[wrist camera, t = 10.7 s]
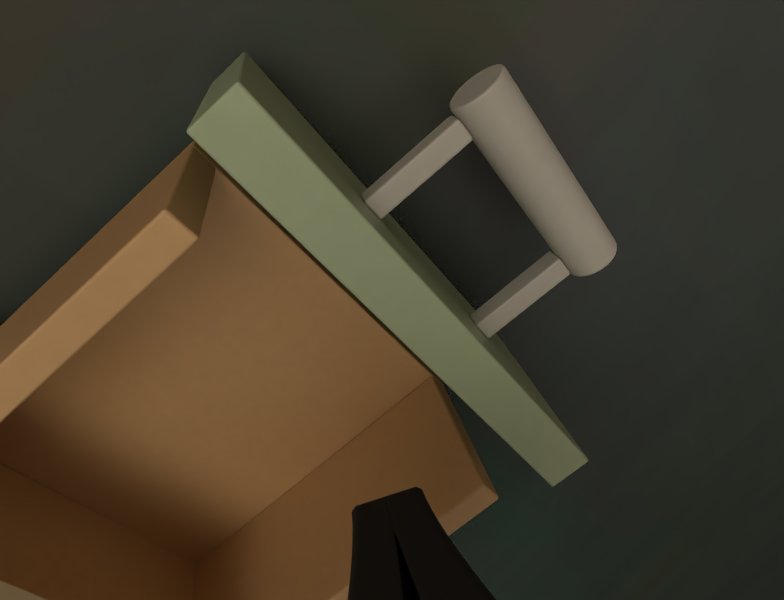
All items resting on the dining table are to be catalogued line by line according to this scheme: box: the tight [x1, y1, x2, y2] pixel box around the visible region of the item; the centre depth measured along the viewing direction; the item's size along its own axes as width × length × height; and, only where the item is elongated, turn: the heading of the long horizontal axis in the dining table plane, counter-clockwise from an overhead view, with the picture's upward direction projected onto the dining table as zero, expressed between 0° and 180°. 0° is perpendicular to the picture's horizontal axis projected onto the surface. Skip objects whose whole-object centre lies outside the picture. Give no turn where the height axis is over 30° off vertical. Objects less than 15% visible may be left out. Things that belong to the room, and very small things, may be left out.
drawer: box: [0, 52, 617, 600], centre depth 15 cm, size 18×12×6 cm, turn 129°
